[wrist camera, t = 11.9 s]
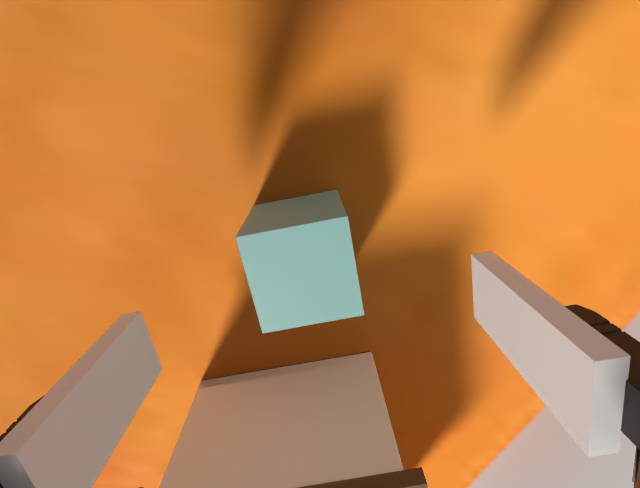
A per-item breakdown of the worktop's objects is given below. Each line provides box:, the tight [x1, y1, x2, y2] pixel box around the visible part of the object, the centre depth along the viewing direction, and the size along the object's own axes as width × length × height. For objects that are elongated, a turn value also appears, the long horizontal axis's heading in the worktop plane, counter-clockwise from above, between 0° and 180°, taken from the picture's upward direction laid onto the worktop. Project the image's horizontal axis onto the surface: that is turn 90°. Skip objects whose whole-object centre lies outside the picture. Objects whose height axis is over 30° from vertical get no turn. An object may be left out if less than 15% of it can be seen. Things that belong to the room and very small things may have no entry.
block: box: [236, 189, 364, 334], centre depth 20 cm, size 5×5×6 cm
